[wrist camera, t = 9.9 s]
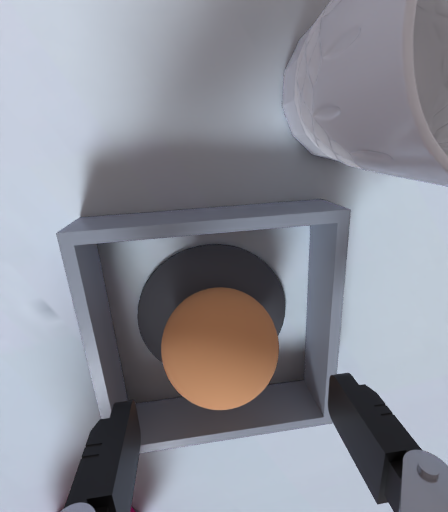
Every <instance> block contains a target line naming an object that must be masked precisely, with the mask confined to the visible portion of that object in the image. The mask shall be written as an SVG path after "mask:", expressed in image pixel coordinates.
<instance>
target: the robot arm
mask: <svg viewBox="0 0 448 512" xmlns="http://www.w3.org/2000/svg"><path fill="white" fill-rule="evenodd" d="M328 411H329V414H330V417H331V420H332V422H333V424H334V425H335V427H336V429H337V431H338V433H339V435H340V436H341V438H342V440H343V442H344V444H345V446H346V448H347V449H348V451H349V453H350V455H351V457H352V459H353V460H354V462H355V464H356V466H357V468H358V470H359V472H360V473H361V475H362V477H363V479H364V481H365V483H366V484H367V486H368V488H369V490H370V492H371V494H372V495H373V497H374V499H375V501H376V503H377V504H382V503H387V502H389V504H390V506H391V508H392V509H393V512H448V466H447V465H446V464H445V463H444V462H443V461H442V460H441V459H440V458H438V457H437V456H435V455H433V454H431V453H429V452H426V451H422V449H421V448H420V447H419V446H418V445H417V443H416V442H415V441H414V439H413V438H412V437H411V436H410V434H409V433H408V432H407V431H406V429H405V428H404V427H403V426H402V424H401V423H400V422H399V420H398V419H397V418H396V417H395V415H393V414H392V412H391V410H390V409H389V408H388V407H387V406H386V405H385V403H384V401H383V400H382V399H381V398H380V396H379V395H378V394H377V393H376V392H375V391H373V390H372V389H370V388H369V387H368V386H366V385H365V384H364V385H358V383H357V382H356V380H355V379H354V378H353V376H352V375H351V374H350V373H343V374H336V375H331V376H330V378H329V391H328ZM140 445H141V431H140V425H139V420H138V414H137V409H136V404H135V401H134V400H131V401H123V402H115V403H114V405H113V407H112V411H111V414H110V418H105V419H100V420H99V421H98V422H97V424H96V425H95V426H94V428H93V429H92V430H91V432H90V434H89V437H88V440H87V443H86V448H85V449H84V452H83V455H82V459H81V461H80V464H79V467H78V470H77V472H76V475H75V478H74V481H73V484H72V487H71V490H70V493H69V496H68V499H67V502H66V504H65V507H64V509H63V510H62V511H60V512H130V511H131V504H132V498H133V491H134V485H135V478H136V472H137V465H138V459H139V452H140Z"/></svg>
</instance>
